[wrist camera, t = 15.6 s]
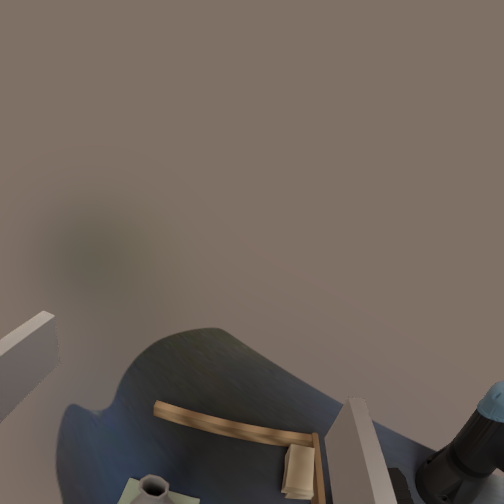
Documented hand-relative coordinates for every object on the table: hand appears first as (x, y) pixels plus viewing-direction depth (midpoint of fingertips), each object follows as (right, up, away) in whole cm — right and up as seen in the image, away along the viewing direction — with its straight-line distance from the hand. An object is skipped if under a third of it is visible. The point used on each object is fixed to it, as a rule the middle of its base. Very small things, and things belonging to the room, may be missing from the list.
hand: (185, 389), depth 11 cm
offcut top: (+10, -28, +25) cm, 39 cm away
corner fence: (-1, -27, +26) cm, 37 cm away
